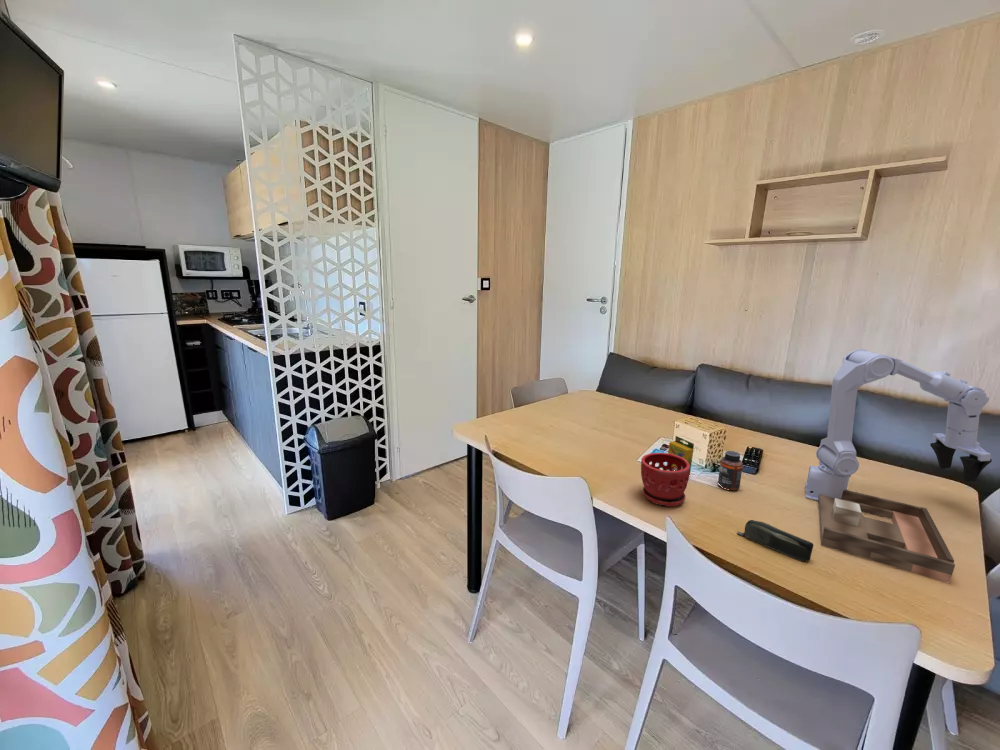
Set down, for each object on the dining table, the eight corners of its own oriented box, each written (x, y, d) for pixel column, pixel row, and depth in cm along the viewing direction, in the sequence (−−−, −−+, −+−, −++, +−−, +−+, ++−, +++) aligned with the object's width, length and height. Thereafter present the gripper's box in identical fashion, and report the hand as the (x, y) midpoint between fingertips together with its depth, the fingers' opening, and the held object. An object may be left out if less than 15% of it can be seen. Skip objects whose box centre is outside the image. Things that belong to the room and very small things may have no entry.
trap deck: (821, 544, 101) (824, 526, 100) (817, 497, 122) (820, 482, 121) (949, 583, 88) (955, 563, 87) (920, 523, 110) (925, 506, 109)
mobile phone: (814, 540, 95) (742, 513, 105) (812, 546, 93) (739, 518, 103) (810, 559, 96) (739, 530, 106) (807, 565, 94) (735, 535, 104)
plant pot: (663, 484, 130) (667, 448, 127) (696, 505, 118) (701, 466, 115) (629, 491, 125) (632, 455, 122) (659, 514, 113) (664, 474, 110)
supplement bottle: (739, 485, 129) (744, 451, 126) (738, 493, 124) (744, 459, 121) (718, 480, 132) (722, 447, 129) (716, 488, 127) (721, 454, 124)
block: (833, 520, 108) (836, 506, 107) (831, 511, 112) (834, 498, 111) (857, 526, 105) (861, 512, 104) (855, 517, 109) (859, 503, 108)
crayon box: (665, 468, 140) (669, 436, 137) (671, 467, 141) (675, 435, 138) (684, 478, 134) (688, 444, 131) (690, 476, 135) (694, 443, 132)
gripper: (1007, 436, 104) (1001, 486, 107) (954, 417, 118) (950, 461, 121) (974, 438, 105) (968, 487, 108) (925, 419, 119) (922, 463, 122)
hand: (957, 474), depth 114 cm, fingers open, 7 cm apart
